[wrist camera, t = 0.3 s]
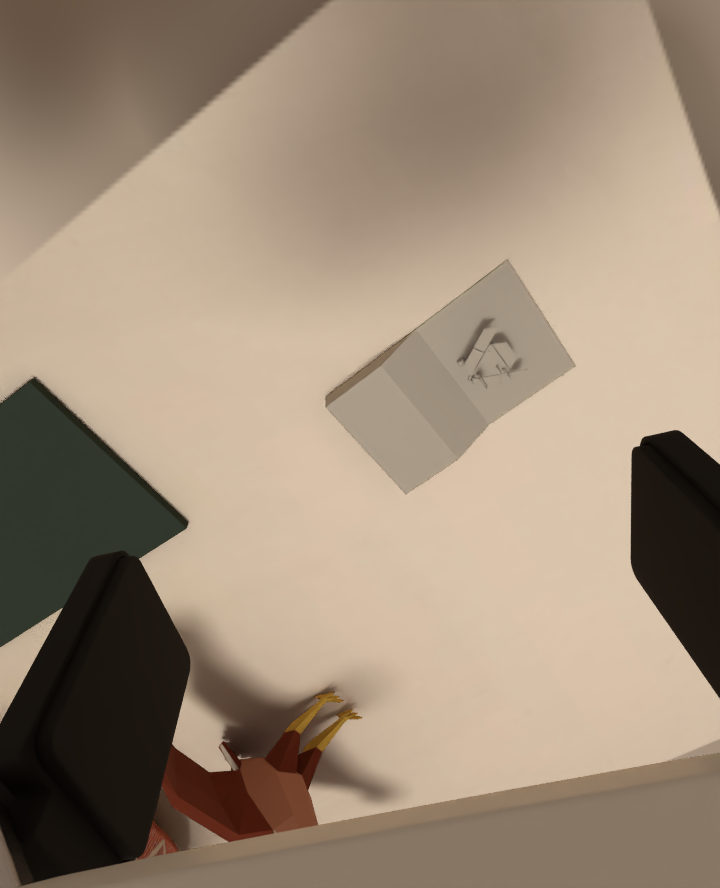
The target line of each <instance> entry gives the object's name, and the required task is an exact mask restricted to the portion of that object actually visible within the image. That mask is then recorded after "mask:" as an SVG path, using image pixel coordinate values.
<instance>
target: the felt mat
mask: <svg viewBox="0 0 720 888" xmlns="http://www.w3.org/2000/svg"><path fill="white" fill-rule="evenodd" d="M187 526H188V522H187V521H186V520H185V519H184V518H183V517H182V516H181V515H180V514H179V513H178V512H177V511H176V510H174V509H173V508H172V507H171V506H170V505H169V504H168V503H167V502H166V501H165V500H164V499H163V498H162V497H161V496H160V495H158V494H157V493H156V492H155V491H154V490H153V489H152V488H151V487H150V486H149V485H148V484H147V483H146V482H145V481H144V480H142V479H141V478H140V477H139V476H138V475H137V474H136V473H135V472H134V471H133V470H132V469H131V468H130V467H129V466H128V465H126V464H125V463H124V462H123V461H122V460H121V459H120V458H119V457H118V456H117V455H116V454H115V453H114V452H113V451H111V450H110V449H109V448H108V447H107V446H106V445H105V444H104V443H103V442H102V441H101V440H100V439H99V438H98V437H97V436H95V435H94V434H93V433H92V432H91V431H90V430H89V429H88V428H87V427H86V426H85V425H84V424H83V423H82V422H81V421H79V420H78V419H77V418H76V417H75V416H74V415H73V414H72V413H71V412H70V411H69V410H68V409H67V408H66V407H65V406H63V405H62V404H61V403H60V402H59V401H58V400H57V399H56V398H55V397H54V396H53V395H52V394H51V393H50V392H49V391H47V390H46V389H45V388H44V387H43V386H42V385H41V384H40V383H39V382H38V381H37V380H36V379H34V378H33V379H32V380H30V381H29V382H28V383H27V384H25V385H24V386H23V387H22V388H20V389H19V390H18V391H16V392H15V393H14V394H13V395H11V396H10V397H9V398H8V399H6V400H5V401H4V402H2V403H1V404H0V647H2V646H3V645H5V644H6V643H8V642H9V641H11V640H13V639H14V638H16V637H17V636H19V635H20V634H22V633H23V632H25V631H27V630H28V629H30V628H31V627H33V626H34V625H36V624H38V623H39V622H41V621H42V620H44V619H45V618H47V617H49V616H50V615H52V614H53V613H55V612H56V611H58V610H59V609H61V608H63V607H64V605H65V603H66V602H67V600H68V598H69V596H70V594H71V592H72V591H73V589H74V587H75V585H76V583H77V581H78V580H79V578H80V576H81V574H82V572H83V570H84V568H85V567H86V565H87V563H88V561H89V560H90V559H91V558H92V557H94V556H98V555H103V554H107V553H112V552H117V551H121V550H122V551H126V552H127V553H128V554H129V555H130V556H136V557H138V558H141V557H142V556H144V555H146V554H147V553H149V552H150V551H152V550H153V549H155V548H157V547H158V546H160V545H161V544H163V543H164V542H166V541H167V540H169V539H171V538H172V537H174V536H175V535H177V534H178V533H180V532H182V531H183V530H185V529H186V528H187Z"/></svg>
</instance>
